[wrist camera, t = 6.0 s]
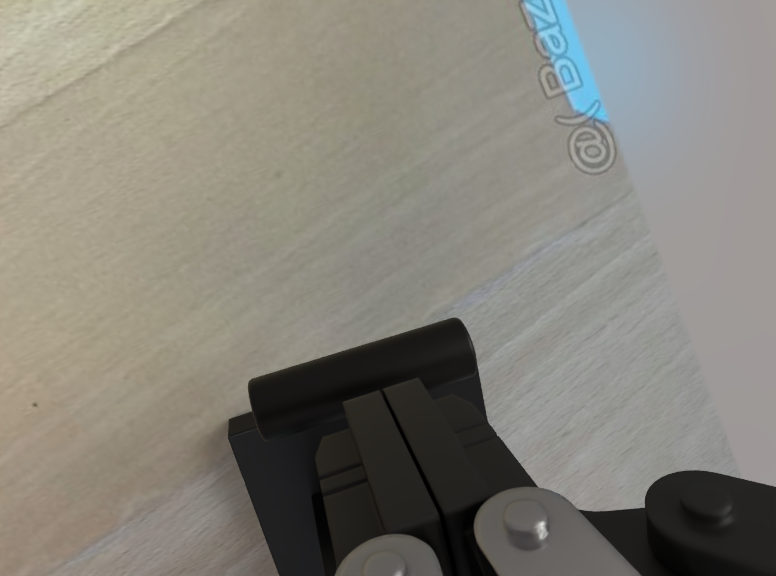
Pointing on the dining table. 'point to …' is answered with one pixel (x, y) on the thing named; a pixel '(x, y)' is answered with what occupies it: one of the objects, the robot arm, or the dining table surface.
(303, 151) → the dining table surface
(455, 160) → the dining table surface
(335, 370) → the lever
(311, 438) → the bracket
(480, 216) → the dining table surface
